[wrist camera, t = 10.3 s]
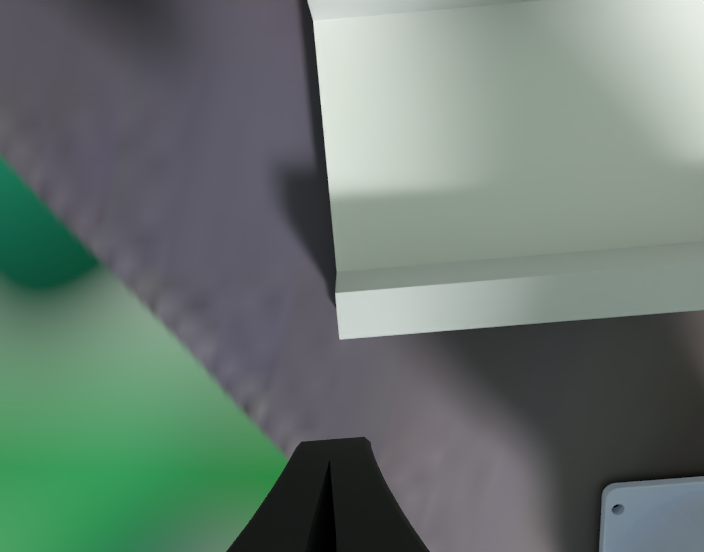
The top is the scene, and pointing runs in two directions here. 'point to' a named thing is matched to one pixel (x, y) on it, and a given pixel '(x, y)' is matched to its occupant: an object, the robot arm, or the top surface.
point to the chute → (512, 160)
